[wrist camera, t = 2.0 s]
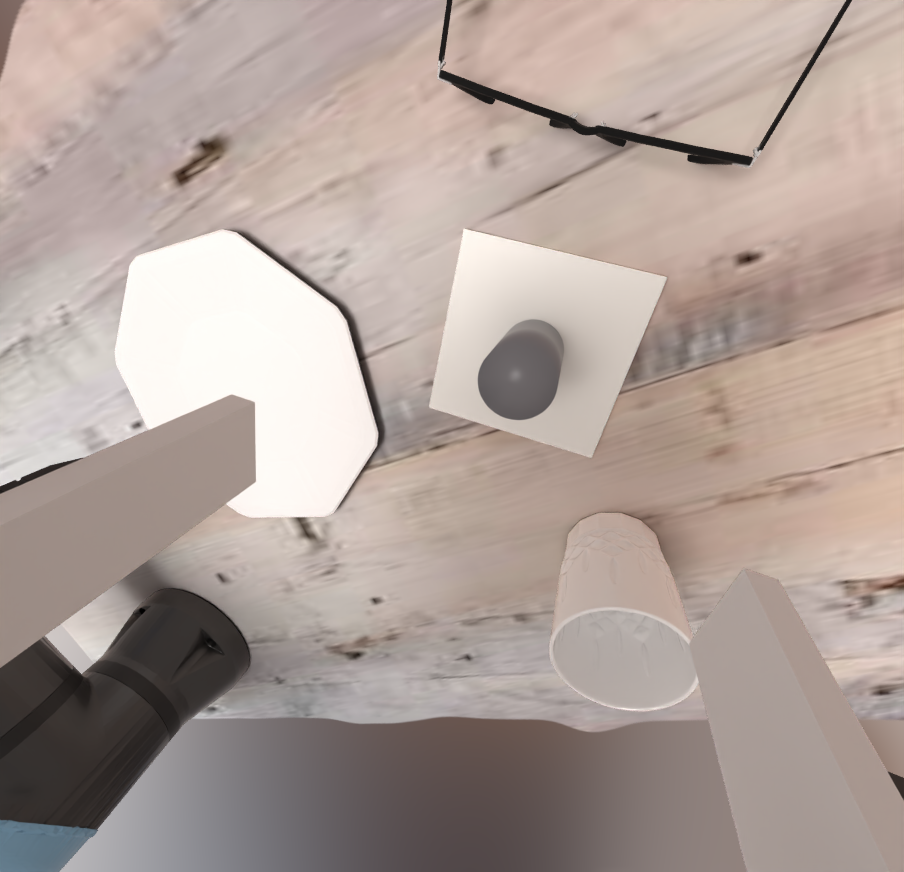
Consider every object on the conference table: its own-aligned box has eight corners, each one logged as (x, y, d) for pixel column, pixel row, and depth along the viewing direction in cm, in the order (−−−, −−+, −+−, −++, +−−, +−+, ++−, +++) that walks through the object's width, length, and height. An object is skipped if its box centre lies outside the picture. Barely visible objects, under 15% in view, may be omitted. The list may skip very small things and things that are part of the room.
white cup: (668, 503, 29) (703, 612, 21) (669, 591, 32) (701, 721, 24) (552, 505, 32) (541, 603, 23) (563, 586, 35) (556, 702, 26)
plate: (324, 202, 28) (311, 201, 27) (407, 506, 37) (401, 516, 35) (89, 274, 36) (71, 275, 35) (203, 511, 44) (191, 519, 43)
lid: (433, 402, 32) (390, 448, 25) (467, 229, 26) (425, 224, 19) (591, 451, 30) (593, 516, 23) (664, 275, 24) (696, 289, 17)
